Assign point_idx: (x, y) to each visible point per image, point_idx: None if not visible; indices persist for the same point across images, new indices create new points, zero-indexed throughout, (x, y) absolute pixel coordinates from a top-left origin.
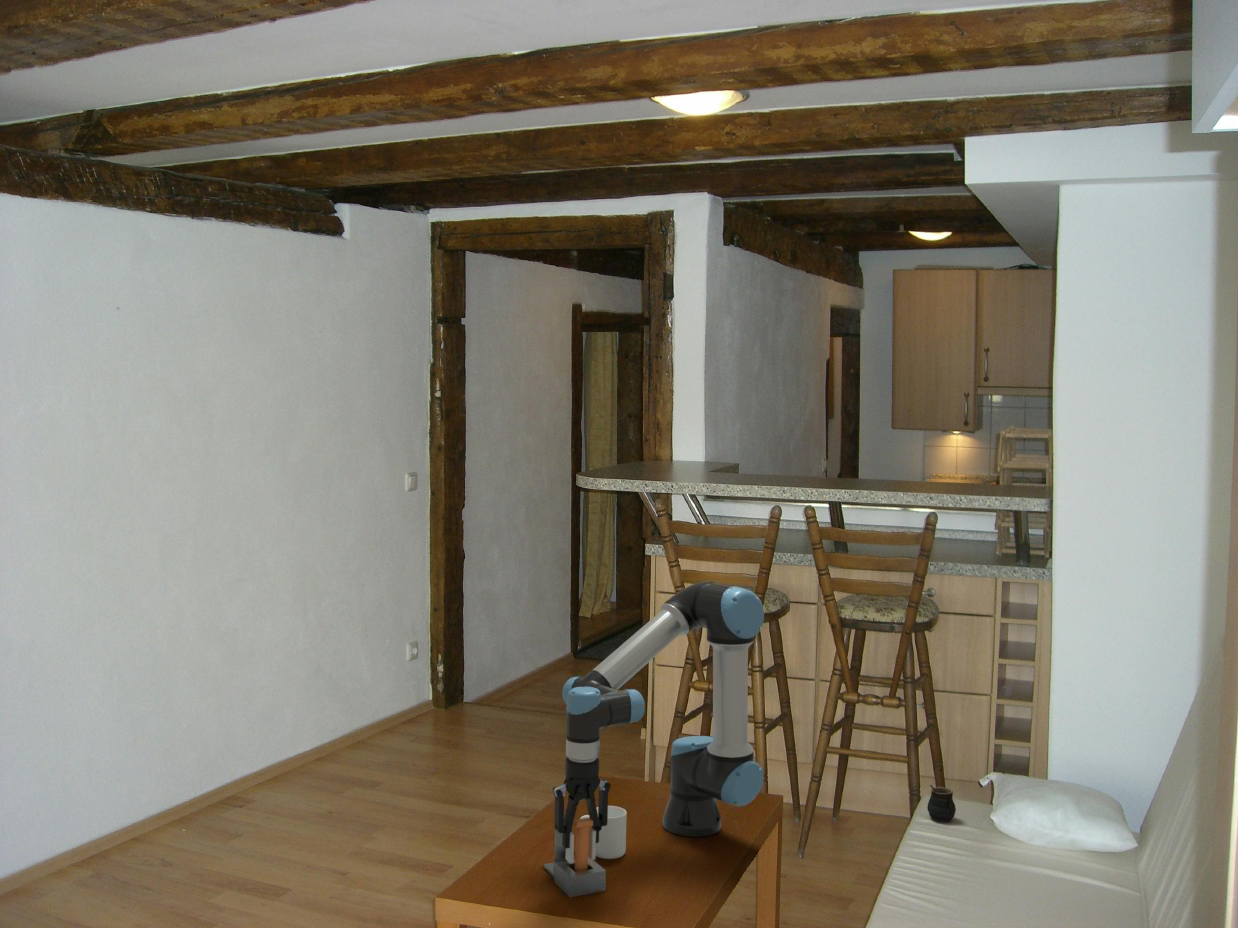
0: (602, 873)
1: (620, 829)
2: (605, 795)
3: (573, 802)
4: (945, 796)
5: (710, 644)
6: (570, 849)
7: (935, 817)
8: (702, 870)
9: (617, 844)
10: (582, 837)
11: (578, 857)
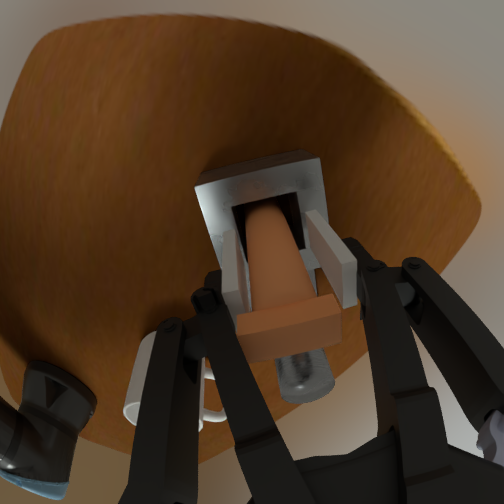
0: (206, 181)
1: (139, 377)
2: (147, 473)
3: (433, 399)
4: None
5: None
6: (332, 230)
7: None
8: (12, 254)
9: (150, 350)
10: (291, 262)
11: (287, 228)
